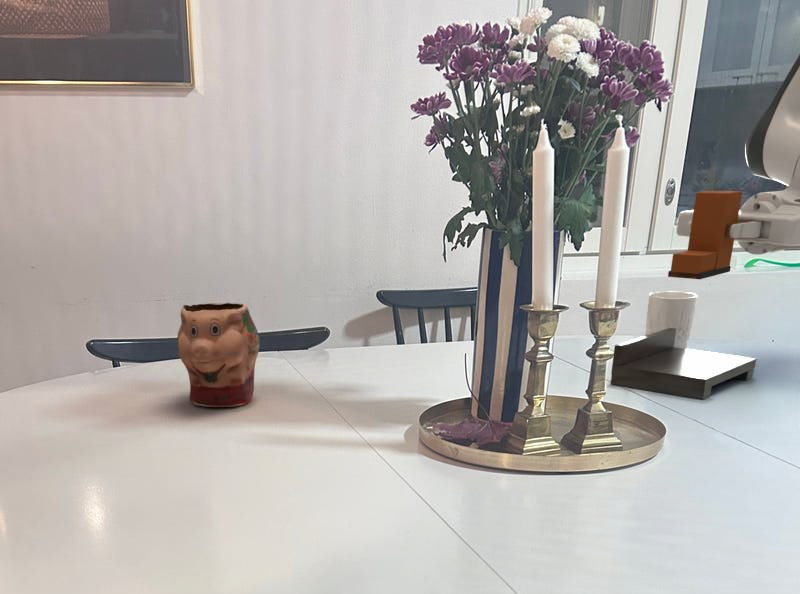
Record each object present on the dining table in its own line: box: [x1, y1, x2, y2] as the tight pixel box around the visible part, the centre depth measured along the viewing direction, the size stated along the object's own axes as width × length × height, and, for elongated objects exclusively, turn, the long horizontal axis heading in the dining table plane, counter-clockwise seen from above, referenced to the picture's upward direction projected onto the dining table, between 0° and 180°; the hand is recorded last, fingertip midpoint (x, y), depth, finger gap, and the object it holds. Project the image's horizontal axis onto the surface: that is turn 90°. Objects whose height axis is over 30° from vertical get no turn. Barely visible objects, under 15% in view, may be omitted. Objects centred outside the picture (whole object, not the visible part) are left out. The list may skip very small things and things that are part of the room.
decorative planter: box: [176, 302, 260, 408], centre depth 141 cm, size 20×12×14 cm, turn 179°
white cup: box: [644, 291, 699, 349], centre depth 162 cm, size 8×8×10 cm
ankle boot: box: [667, 190, 743, 280], centre depth 137 cm, size 5×10×11 cm, turn 135°
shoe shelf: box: [610, 328, 757, 400], centre depth 146 cm, size 15×18×6 cm
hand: (709, 229), depth 138 cm, fingers closed on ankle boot, 5 cm apart
